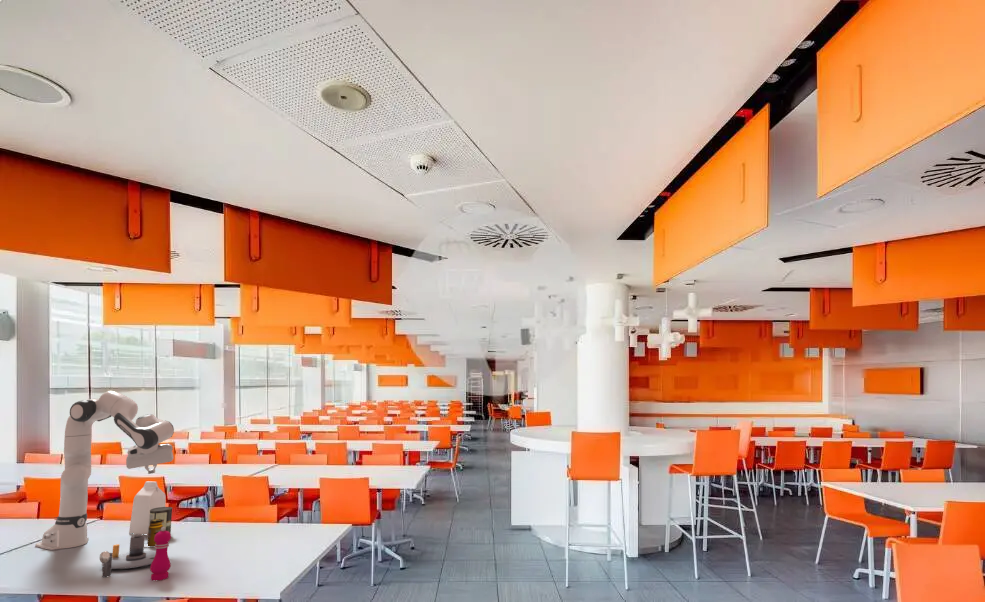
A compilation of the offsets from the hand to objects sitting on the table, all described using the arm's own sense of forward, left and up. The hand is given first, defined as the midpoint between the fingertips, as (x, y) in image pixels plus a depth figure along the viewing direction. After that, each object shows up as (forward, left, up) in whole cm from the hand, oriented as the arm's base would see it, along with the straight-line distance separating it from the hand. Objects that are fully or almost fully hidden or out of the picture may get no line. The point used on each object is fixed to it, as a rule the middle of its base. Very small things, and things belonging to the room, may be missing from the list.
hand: (151, 473), depth 288 cm
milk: (-19, +19, -34) cm, 44 cm away
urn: (+21, -25, -32) cm, 46 cm away
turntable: (+21, -26, -33) cm, 46 cm away
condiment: (+5, -1, -34) cm, 35 cm away
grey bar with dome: (+25, -43, -34) cm, 60 cm away
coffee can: (-4, +12, -34) cm, 37 cm away
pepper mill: (+48, -39, -34) cm, 70 cm away
